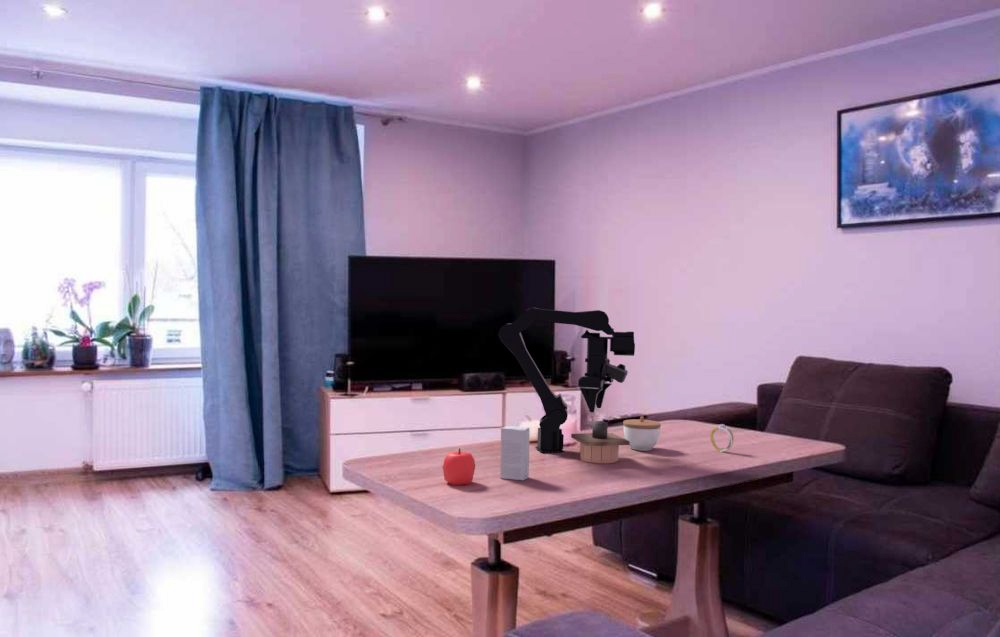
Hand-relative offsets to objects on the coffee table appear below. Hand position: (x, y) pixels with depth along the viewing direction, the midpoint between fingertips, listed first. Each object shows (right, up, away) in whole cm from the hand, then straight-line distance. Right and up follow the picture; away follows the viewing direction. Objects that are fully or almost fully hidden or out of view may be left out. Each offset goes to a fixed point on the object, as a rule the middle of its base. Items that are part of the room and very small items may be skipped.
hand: (595, 410), depth 208 cm
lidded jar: (+14, -12, +8) cm, 21 cm away
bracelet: (+37, -13, +6) cm, 40 cm away
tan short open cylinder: (0, -12, -9) cm, 15 cm away
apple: (-36, -12, -38) cm, 54 cm away
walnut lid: (0, -7, -9) cm, 12 cm away
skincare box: (-24, -12, -32) cm, 42 cm away
